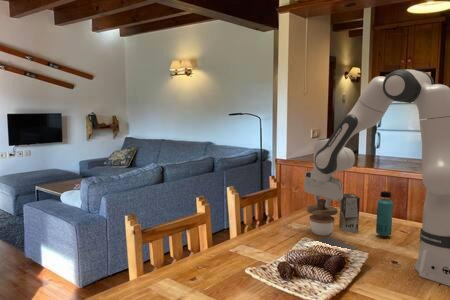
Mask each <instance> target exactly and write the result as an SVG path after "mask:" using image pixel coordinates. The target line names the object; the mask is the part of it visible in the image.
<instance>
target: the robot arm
mask: <svg viewBox="0 0 450 300" xmlns="http://www.w3.org/2000/svg"><path fill="white" fill-rule="evenodd" d="M393 102H399V103H407V104H412V103H413V104H415V106H416V107H417V111H418V119H419V129H420V136H421V171H422V173H421V175H422V178H421V179H422V183H423V185H424V187H425V189H426V193H425V198H424V204H423V209H422V211H423V212H422V224H421V225H422V226H421V228H420V234H419V241H420V244H419V246H420V247H419V252H418V255H417V258H416V262H415V264H414V269H415V270H416V271H417V272H418V276H419V277H420V278H423V279H426V280H429V281H432V282H435V283H438V284H441V285H445V286H448V287H450V87H449V86H448V85H445V84H441V83H437V84H435V81H434V79H433V77H432V76H431V75H430V74H429V73H427V72H425V71H422V70H416V69H397V70H394V71H392V72H389V73H388V74H387V75H386V76H383V75H382V76H379V75H378V76H375V77H374V78H372V79H371V81H370V82H369V83H368V84H367V86H365V88H364V89H363V91H362V93H361V94H360V96H359V98H358V99H357V101H356V102H355V104H354V106H353V107H352V109H351V110H349V112H348V114H347V115H346V116H344V118H343V119H342V120H341V122H340V123H339V124H338V125H337V127H336V128H335V130H334V131H333V132H332V134H331V136H330V137H328V138H327V137H326V138H319V139H317V140H316V141H315V143H314V147H313V162H314V163H313V166H312V167H313V168H312V169H313V170H310V171H306V172H305V173H304V183H303V189H304V192H305V193H307V194H310V195H313V196H314V199H315V203H316V204H315V205H317V201H318V199H321V198H325V200H326V203H324V207H325V208H329V206H330V203H331V201H336V202H338V201H339V202H340V200H342V199H343V194H344V189H343V181H342V180H340V178H339V177H335V173H337V172H342V171H346V170H347V171H348V170H349V169H352V168H354V165H355V163H356V155H355V153H354V151H353V150H352V149H351V148H349V147H346V145H347V143H348V142H349V140H350V139H351V138H352V137H353V136H355V135H356V134H358V133H360V132H362V131H365V130H367V129H368V130H369V129H370V128H372V127H375V126H376V125H377V124H378V123H379V122H380V121H381V120H382V119H383V118H384V116H385V114H386V112H387V111H388V109H389V107H390V106H391V104H392V103H393Z"/></svg>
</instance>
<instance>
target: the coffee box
mask: <svg viewBox="0 0 450 300" xmlns="http://www.w3.org/2000/svg"><path fill="white" fill-rule="evenodd" d="M360 199H361V198H360V197H359V196H357V195H356V194H354V193H343V199H342V200H339V220H338V222H339V223H338V227H339V228H340V229H341V230H342V231H343V232H344V233H352V234H359V222H360V221H359V220H360V203H361V202H360Z"/></svg>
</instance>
